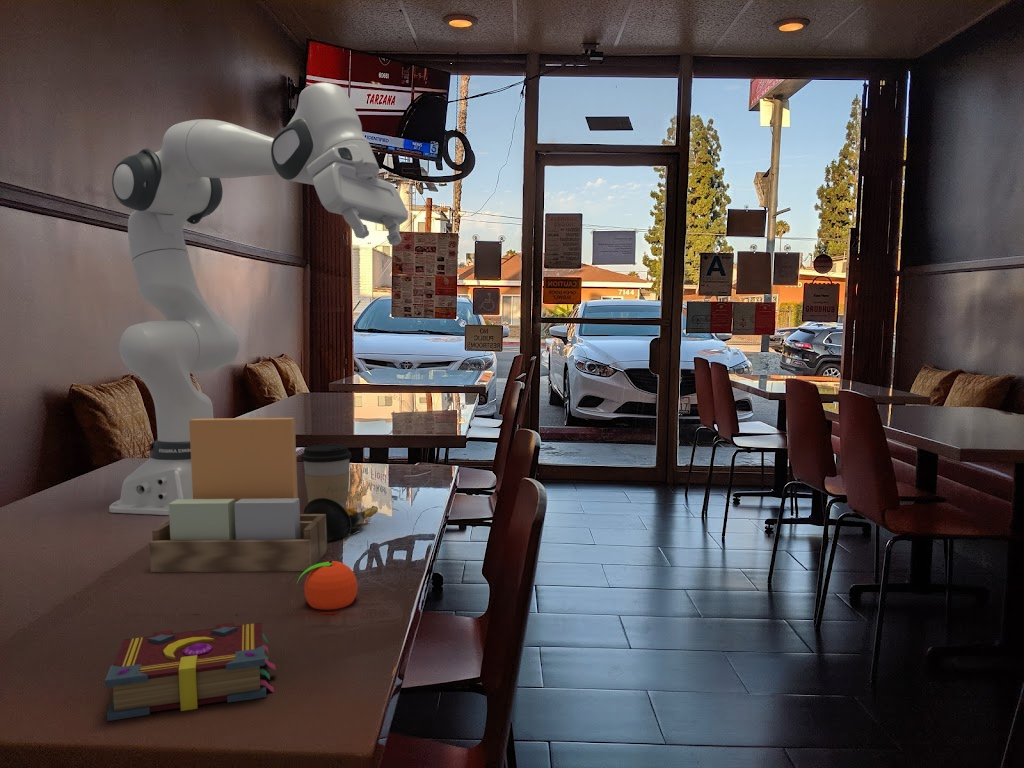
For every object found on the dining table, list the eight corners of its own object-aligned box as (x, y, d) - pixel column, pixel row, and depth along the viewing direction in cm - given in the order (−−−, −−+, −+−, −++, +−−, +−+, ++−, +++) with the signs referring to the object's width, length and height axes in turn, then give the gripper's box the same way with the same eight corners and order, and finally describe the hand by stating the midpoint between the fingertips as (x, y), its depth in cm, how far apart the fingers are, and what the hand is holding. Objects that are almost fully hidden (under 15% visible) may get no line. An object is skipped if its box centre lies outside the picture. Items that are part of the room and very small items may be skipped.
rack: (151, 581, 122) (148, 532, 121) (181, 560, 132) (179, 515, 132) (310, 580, 121) (308, 531, 121) (327, 559, 132) (325, 514, 131)
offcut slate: (237, 568, 123) (234, 503, 122) (244, 562, 126) (241, 498, 125) (296, 567, 123) (293, 502, 122) (301, 561, 126) (299, 498, 125)
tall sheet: (195, 557, 128) (189, 420, 126) (200, 554, 130) (194, 418, 128) (296, 557, 128) (291, 419, 126) (299, 553, 130) (294, 417, 128)
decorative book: (124, 676, 90) (121, 632, 90) (274, 655, 95) (273, 614, 95) (107, 724, 79) (104, 675, 79) (278, 698, 84) (276, 652, 84)
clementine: (301, 627, 103) (299, 573, 102) (293, 609, 109) (291, 558, 109) (363, 617, 106) (362, 564, 106) (352, 600, 112) (350, 550, 112)
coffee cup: (341, 533, 147) (339, 452, 146) (293, 531, 149) (290, 451, 148) (361, 520, 156) (359, 443, 155) (316, 518, 158) (313, 442, 157)
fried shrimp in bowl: (278, 525, 136) (324, 471, 152) (313, 576, 139) (354, 519, 155) (321, 509, 132) (363, 456, 148) (356, 562, 135) (393, 504, 151)
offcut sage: (171, 568, 123) (168, 503, 122) (180, 562, 126) (177, 499, 125) (230, 568, 123) (227, 503, 122) (237, 562, 126) (234, 498, 125)
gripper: (374, 188, 150) (401, 255, 147) (299, 166, 131) (328, 241, 129) (400, 171, 147) (427, 238, 145) (326, 145, 129) (357, 222, 127)
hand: (380, 240), depth 137 cm, fingers open, 8 cm apart
